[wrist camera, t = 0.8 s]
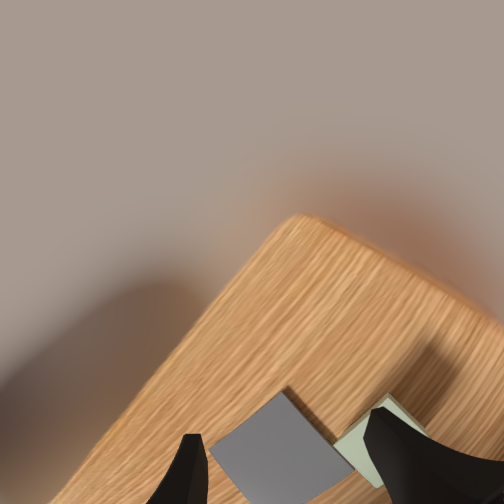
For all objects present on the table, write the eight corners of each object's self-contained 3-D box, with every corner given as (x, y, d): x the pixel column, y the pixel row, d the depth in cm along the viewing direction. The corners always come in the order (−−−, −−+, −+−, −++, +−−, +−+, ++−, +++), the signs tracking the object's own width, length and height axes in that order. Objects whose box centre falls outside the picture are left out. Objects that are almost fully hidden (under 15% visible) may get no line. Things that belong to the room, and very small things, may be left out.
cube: (424, 428, 17) (433, 441, 13) (379, 467, 18) (376, 488, 13) (387, 391, 20) (388, 397, 16) (343, 431, 20) (333, 445, 16)
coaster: (355, 468, 18) (354, 470, 18) (270, 520, 19) (268, 522, 18) (283, 391, 24) (281, 391, 24) (211, 448, 24) (208, 449, 24)
